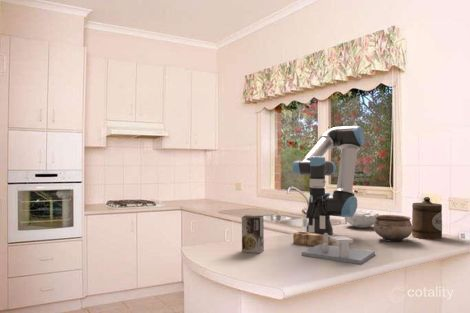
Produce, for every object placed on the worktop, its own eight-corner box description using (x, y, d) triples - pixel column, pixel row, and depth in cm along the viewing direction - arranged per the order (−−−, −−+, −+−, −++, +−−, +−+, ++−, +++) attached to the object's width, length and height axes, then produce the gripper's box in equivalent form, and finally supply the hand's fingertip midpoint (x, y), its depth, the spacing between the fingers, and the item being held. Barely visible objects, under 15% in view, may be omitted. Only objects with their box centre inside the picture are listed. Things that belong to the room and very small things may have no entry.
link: (293, 243, 196) (293, 233, 197) (299, 240, 202) (299, 231, 202) (328, 247, 186) (328, 237, 186) (333, 245, 192) (333, 235, 192)
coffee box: (264, 250, 181) (264, 215, 181) (260, 253, 175) (260, 217, 175) (245, 248, 184) (245, 214, 184) (241, 251, 178) (241, 216, 178)
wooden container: (442, 240, 203) (441, 198, 204) (411, 238, 210) (410, 197, 211) (442, 235, 216) (441, 196, 217) (413, 233, 223) (412, 195, 224)
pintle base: (300, 255, 170) (300, 235, 170) (319, 247, 187) (319, 228, 187) (360, 264, 155) (359, 242, 155) (374, 254, 172) (374, 234, 173)
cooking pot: (399, 246, 188) (399, 221, 188) (363, 240, 202) (363, 217, 203) (421, 239, 205) (421, 216, 205) (387, 234, 219) (386, 213, 219)
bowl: (362, 224, 258) (362, 208, 258) (386, 228, 239) (386, 212, 239) (337, 226, 249) (337, 210, 249) (359, 231, 230) (359, 214, 231)
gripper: (314, 188, 181) (313, 234, 180) (333, 186, 201) (333, 228, 201) (299, 187, 185) (299, 232, 184) (320, 186, 205) (319, 226, 205)
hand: (317, 230), depth 192 cm, fingers open, 13 cm apart
